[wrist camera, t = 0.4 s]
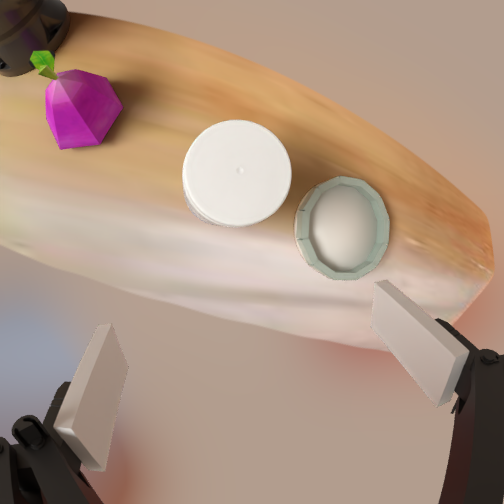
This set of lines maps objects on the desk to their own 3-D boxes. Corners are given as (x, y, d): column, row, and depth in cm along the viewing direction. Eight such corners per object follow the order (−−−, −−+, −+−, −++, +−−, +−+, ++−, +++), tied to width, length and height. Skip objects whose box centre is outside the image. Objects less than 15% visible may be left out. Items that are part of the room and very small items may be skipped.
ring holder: (276, 204, 41) (283, 202, 38) (356, 166, 43) (366, 162, 40) (317, 294, 43) (327, 298, 41) (389, 249, 46) (400, 250, 43)
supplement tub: (213, 139, 39) (230, 95, 24) (270, 182, 41) (315, 161, 26) (167, 198, 38) (158, 181, 24) (226, 241, 40) (251, 250, 26)
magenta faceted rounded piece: (134, 85, 35) (117, 24, 21) (111, 159, 36) (74, 125, 21) (66, 79, 33) (27, 26, 18) (41, 149, 33) (-15, 118, 19)
